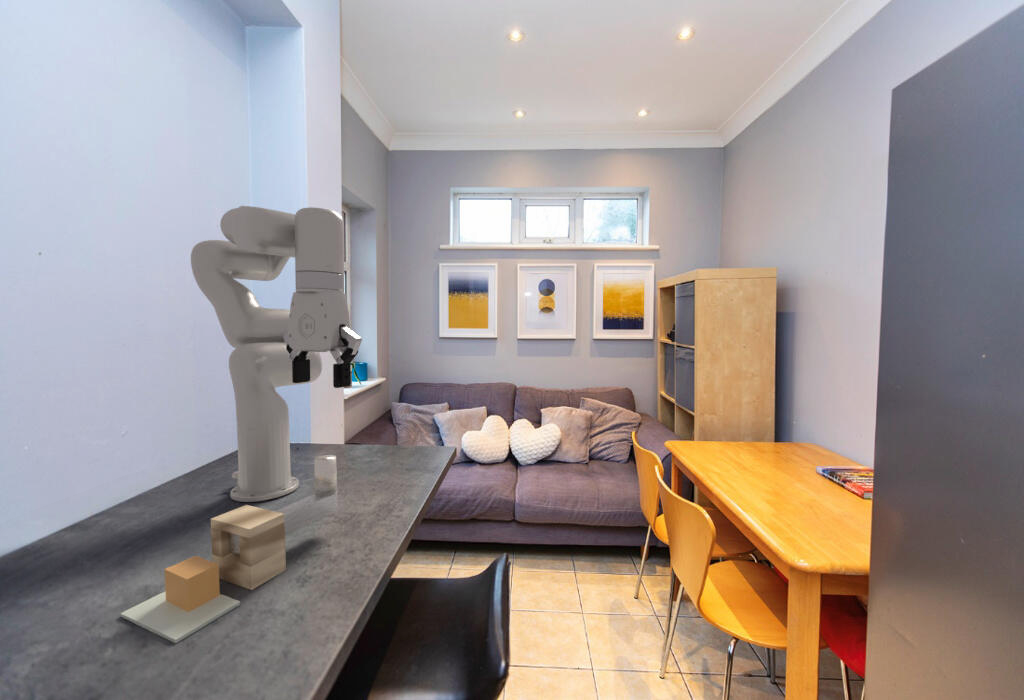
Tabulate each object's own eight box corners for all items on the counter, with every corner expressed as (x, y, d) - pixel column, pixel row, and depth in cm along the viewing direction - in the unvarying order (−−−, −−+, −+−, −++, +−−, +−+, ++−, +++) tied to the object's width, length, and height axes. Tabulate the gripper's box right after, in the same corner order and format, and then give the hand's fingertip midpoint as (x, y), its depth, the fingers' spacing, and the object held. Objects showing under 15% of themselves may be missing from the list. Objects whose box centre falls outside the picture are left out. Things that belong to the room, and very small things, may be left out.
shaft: (229, 551, 58) (227, 487, 57) (327, 505, 73) (325, 453, 72) (246, 556, 56) (243, 490, 56) (342, 508, 72) (340, 456, 71)
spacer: (197, 585, 55) (165, 600, 52) (196, 555, 55) (164, 569, 52) (219, 595, 53) (188, 612, 50) (218, 564, 53) (186, 579, 50)
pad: (120, 616, 50) (120, 613, 50) (186, 583, 56) (186, 580, 56) (175, 643, 45) (175, 639, 45) (240, 604, 52) (240, 601, 52)
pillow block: (213, 576, 58) (210, 518, 57) (248, 558, 62) (246, 504, 62) (251, 590, 55) (249, 529, 54) (285, 569, 59) (284, 513, 59)
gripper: (265, 283, 71) (267, 383, 73) (340, 281, 64) (341, 392, 65) (303, 287, 78) (304, 378, 79) (375, 285, 71) (375, 385, 72)
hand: (321, 384), depth 72 cm, fingers open, 9 cm apart
